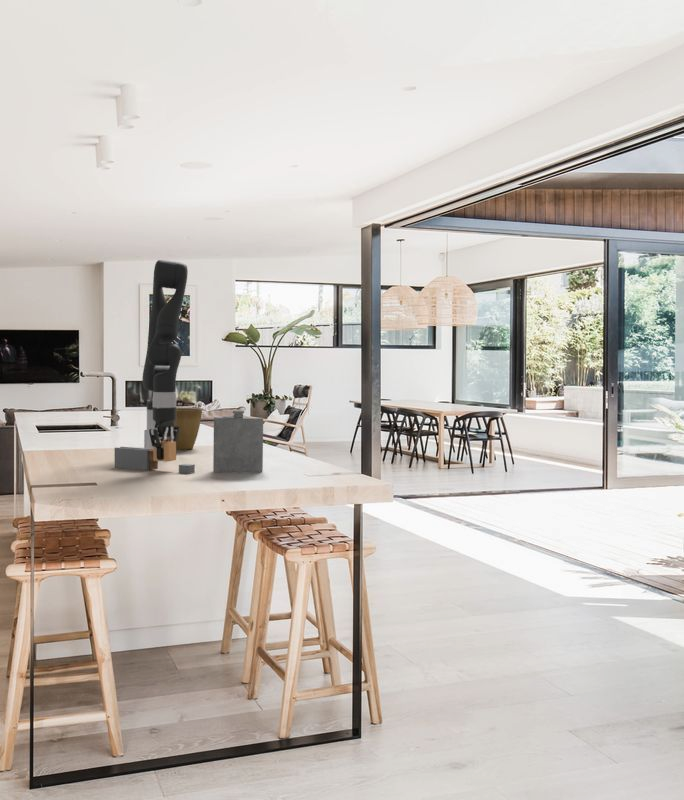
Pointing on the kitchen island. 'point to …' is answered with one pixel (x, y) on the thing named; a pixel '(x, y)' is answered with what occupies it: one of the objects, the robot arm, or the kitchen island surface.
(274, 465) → the kitchen island surface
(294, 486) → the kitchen island surface
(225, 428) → the hip flask
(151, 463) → the gate
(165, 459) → the orange block
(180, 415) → the plant pot
